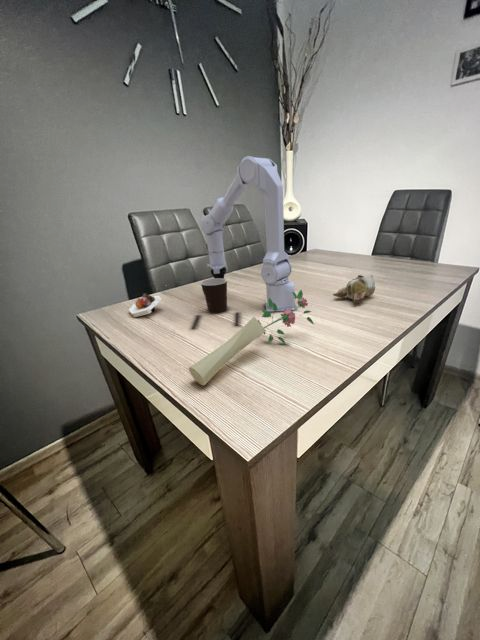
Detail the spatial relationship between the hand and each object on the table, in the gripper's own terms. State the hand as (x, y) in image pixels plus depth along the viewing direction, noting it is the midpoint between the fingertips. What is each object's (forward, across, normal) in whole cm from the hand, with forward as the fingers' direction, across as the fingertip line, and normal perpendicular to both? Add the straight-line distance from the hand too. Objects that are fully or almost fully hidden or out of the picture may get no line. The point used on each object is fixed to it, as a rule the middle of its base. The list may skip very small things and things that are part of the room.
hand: (220, 287), depth 107 cm
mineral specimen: (+4, +12, -26) cm, 29 cm away
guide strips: (+3, +24, 0) cm, 25 cm away
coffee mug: (+4, +14, 0) cm, 14 cm away
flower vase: (+4, +48, +12) cm, 49 cm away
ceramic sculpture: (+4, +14, +50) cm, 51 cm away
